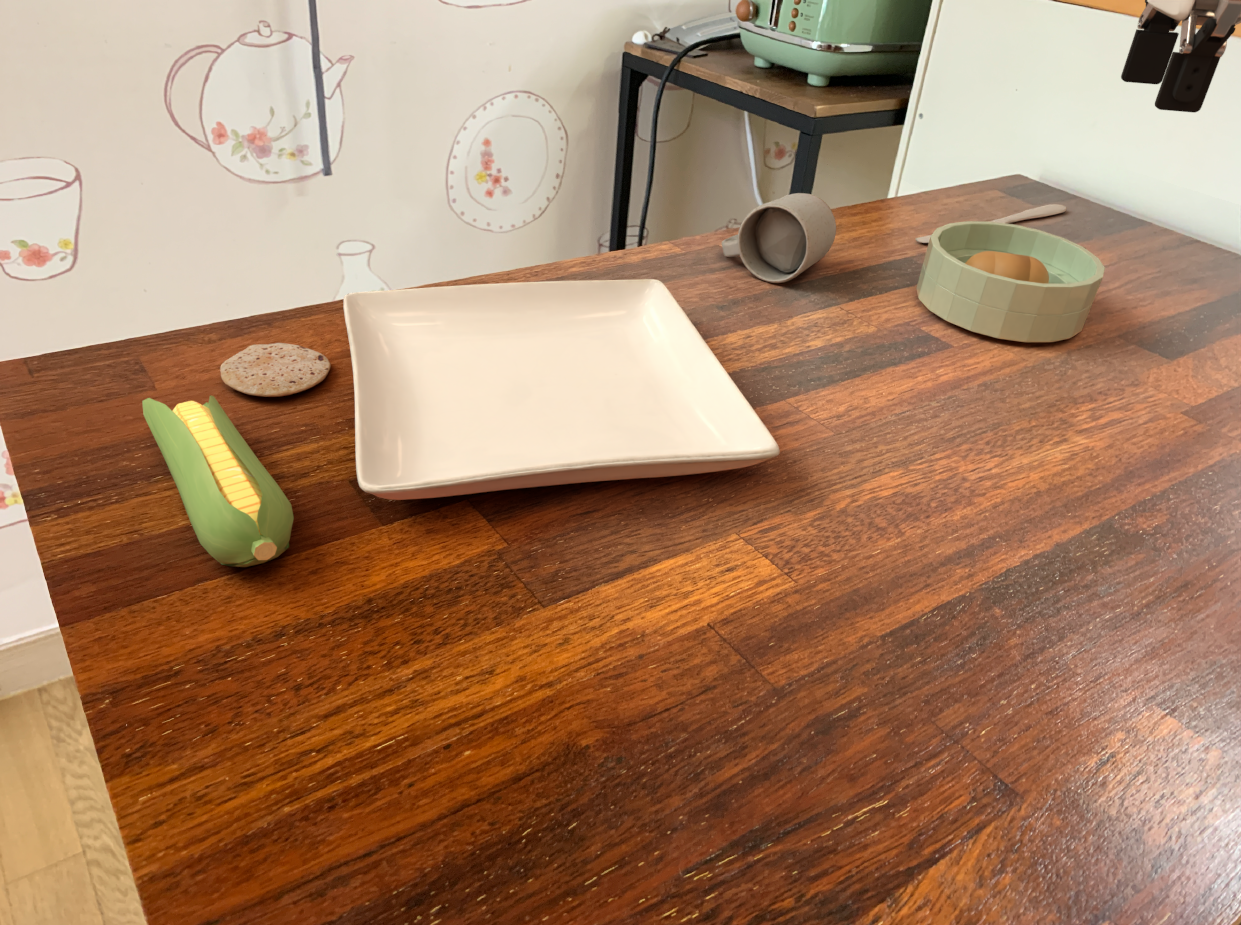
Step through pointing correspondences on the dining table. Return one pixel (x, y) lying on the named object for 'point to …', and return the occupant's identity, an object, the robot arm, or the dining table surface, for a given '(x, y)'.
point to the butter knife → (1020, 216)
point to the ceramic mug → (783, 237)
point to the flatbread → (274, 369)
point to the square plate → (538, 389)
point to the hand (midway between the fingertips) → (1157, 95)
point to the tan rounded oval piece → (1010, 266)
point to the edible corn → (221, 483)
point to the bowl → (1008, 282)
